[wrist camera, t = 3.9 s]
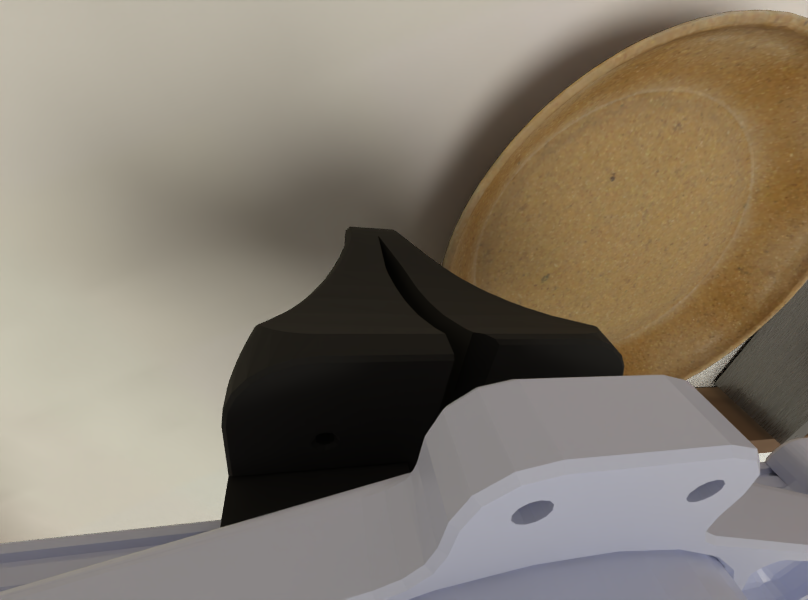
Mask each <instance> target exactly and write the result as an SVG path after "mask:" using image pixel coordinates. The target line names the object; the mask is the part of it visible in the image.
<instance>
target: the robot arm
mask: <svg viewBox="0 0 808 600" xmlns="http://www.w3.org/2000/svg"><path fill="white" fill-rule="evenodd" d="M624 367H625V366H624V362H623V358H622V355H621V354H620V352H619V351H618V350H617V349H616V348H615V347H614V346H613V344H612V343H611V342H610V341H609V340H608V339H607V338H606V336H605V335H604V334H603V333H602V332H601V331H600V330H599V328H598V327H596V326H594V325H589V324H585V323H581V322H577V321H573V320H568V319H564V318H560V317H556V316H552V315H548V314H545V313H542V312H539V311H536V310H533V309H529V308H526V307H524V306H521V305H518V304H515V303H512V302H510V301H507V300H505V299H503V298H500V297H498V296H496V295H493V294H491V293H489V292H487V291H484V290H482V289H480V288H478V287H476V286H474V285H473V284H471V283H469V282H467V281H465V280H463V279H461V278H460V277H458V276H456V275H455V274H453V273H452V272H450V271H449V270H447V269H446V268H444V267H443V266H441V265H440V264H438V263H437V262H435V261H434V260H432V259H431V258H430V257H428V256H427V255H426V254H424V253H423V252H422V251H421V250H419V249H418V248H417V247H415V246H414V245H413V244H412V243H410V242H409V241H408V240H407V239H405V238H404V237H403V236H402V235H400V234H399V233H397V232H396V231H394V230H390V229H375V228H360V227H349V228H348V229H347V230H346V234H345V246H344V248H343V250H342V253H341V255H340V257H339V259H338V261H337V262H336V264H335V266H334V267H333V269H332V270H331V272H330V273H329V275H328V276H327V277H326V279H325V280H324V281H323V282H322V283H321V284H320V286H319V287H318V288H316V289H315V290H314V291H313V292H312V293H311V294H310V295H309V296H308V297H307V298H306V299H305V300H303V301H302V302H301V303H299V304H298V305H296V306H295V307H293V308H292V309H290V310H288V311H287V312H285V313H283V314H281V315H278V316H276V317H274V318H272V319H270V320H268V321H266V322H263V323H261V324H258V325H257V326H256V327H255V328H254V330H253V331H252V333H251V335H250V336H249V338H248V340H247V342H246V344H245V346H244V348H243V350H242V352H241V354H240V356H239V358H238V360H237V362H236V365H235V367H234V370H233V372H232V375H231V378H230V380H229V384H228V387H227V392H226V396H225V401H224V406H223V413H222V433H223V440H224V447H225V454H226V461H227V468H228V475H229V478H228V483H227V489H226V495H225V501H224V507H223V513H222V519H221V520H215V521H206V522H196V523H187V524H178V525H168V526H159V527H150V528H140V529H131V530H121V531H112V532H103V533H93V534H84V535H74V536H65V537H56V538H46V539H37V540H28V541H18V542H9V543H0V600H808V437H807V438H796V439H792V440H789V441H787V442H785V443H783V444H782V445H780V446H779V447H777V448H776V449H775V450H774V451H773V452H772V453H771V454H770V455H769V456H768V457H767V458H766V461H765V462H760V460H759V455H758V450H757V448H756V447H755V446H754V445H753V444H752V443H751V442H750V441H749V440H748V439H747V438H746V437H745V436H744V435H743V434H742V433H740V432H739V431H738V430H737V429H736V428H735V427H734V426H733V425H732V424H731V423H730V422H729V421H728V420H727V419H726V418H725V417H724V416H723V415H722V414H721V413H720V412H719V411H718V410H717V409H716V408H715V407H714V406H713V405H712V404H711V403H710V402H709V401H708V400H707V399H706V398H705V397H704V396H703V395H702V394H700V393H699V392H698V391H697V390H696V389H695V388H694V387H693V386H692V385H691V384H690V383H689V382H688V381H686V380H682V379H678V378H674V377H670V376H666V375H631V376H623V373H624Z"/></svg>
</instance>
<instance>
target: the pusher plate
mask: <svg viewBox="0 0 808 600" xmlns="http://www.w3.org/2000/svg"><path fill="white" fill-rule="evenodd" d="M714 384H715V385H716V386H717V387H719V388H720V389H721V390H722V391H723V392H724V393H725V394H726V395H727V396H728V397H729V398H731V399H732V400H733V401H734V402H735V403H736V404H737V405H738V406H739V407H740V408H741V409H743V410H744V411H745V412H746V413H747V414H748V415H749V416H750V417H751V418H752V419H753V420H754V421H756V422H757V423H758V424H759V425H760V426H761V427H762V428H763V429H764V430H765V431H766V432H768V433H769V434H770V435H771V436H772V437H773V438H774V439H775V440H776V441H777V442H778V443H780V444H781V445H782V444H783V443H785V442H787V441H789V440H792V439H796V438H803V437H804V436H805V435H807V434H808V280H807V281H806V282H805V283H804V285H803V286H802V287H801V288H800V289H799V290H798V291H797V292H796V294H795V295H794V296H793V297H792V298H791V299H790V300H789V301H788V302H787V303H786V304H785V305H784V306H783V307H782V308H781V309H780V310H779V311H778V312H777V313H776V314H775V315H774V316H773V317H772V318H771V319H770V320H769V321H768V322H767V323H765V324H764V325H763V326H762V327H761V328H760V330H759V331H758V332H757V333H756V334H755V335H754V337H753V338H752V339H751V340H750V341H749V343H748V344H747V345H746V346H745V347H744V349H743V350H742V351H741V352H740V353H739V355H738V356H737V357H736V358H735V359H734V361H733V362H732V363H731V364H730V365H729V367H728V368H727V369H726V370H725V371H724V373H723V374H722V375H721V376H720V377H719V379H718V380H717V381H716V382H715V383H714Z"/></svg>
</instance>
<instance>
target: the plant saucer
mask: <svg viewBox="0 0 808 600" xmlns="http://www.w3.org/2000/svg"><path fill="white" fill-rule="evenodd" d="M442 266H443V267H444V268H446V269H447V270H449V271H450V272H452V273H453V274H455V275H456V276H458V277H460V278H461V279H463V280H465V281H467V282H469V283H471V284H473V285H474V286H476V287H478V288H480V289H482V290H484V291H487V292H489V293H491V294H493V295H496V296H498V297H500V298H503V299H505V300H507V301H510V302H512V303H515V304H518V305H521V306H524V307H526V308H529V309H533V310H536V311H539V312H542V313H545V314H548V315H552V316H556V317H560V318H564V319H568V320H573V321H577V322H581V323H585V324H589V325H594V326H596V327H598V328H599V330H600V331H601V332H602V333H603V334H604V335H605V336H606V338H607V339H608V340H609V341H610V342H611V343H612V344H613V346H614V347H615V348H616V349H617V350H618V351H619V352H620V354H621V355H622V358H623V362H624V366H625V367H624V373H623V376H631V375H666V376H670V377H674V378H678V379H682V380H687V379H689V378H690V377H692V376H694V375H696V374H698V373H700V372H702V371H703V370H705V369H707V368H708V367H710V366H711V365H713V364H714V363H716V362H717V361H719V360H720V359H722V358H723V357H724V356H726V355H727V354H729V353H730V352H732V351H733V350H734V349H735V348H737V347H738V346H739V345H741V344H742V343H743V342H745V341H746V340H747V339H748V338H749V337H751V336H752V335H753V334H754V333H755V332H756V331H758V330H759V329H760V328H761V327H762V326H763V325H764V324H765V323H767V322H768V321H769V320H770V319H771V318H772V317H773V316H774V315H775V314H776V313H777V312H778V311H779V310H780V309H781V308H782V307H783V306H784V305H785V304H786V303H787V302H788V301H789V300H790V299H791V298H792V297H793V296H794V295H795V294H796V292H797V291H798V290H799V289H800V288H801V287H802V286H803V285H804V283H805V282H806V281H807V280H808V18H806V17H803V16H799V15H796V14H793V13H790V12H781V11H771V10H747V11H730V12H724V13H719V14H715V15H711V16H707V17H702V18H698V19H695V20H691V21H688V22H685V23H681V24H679V25H676V26H674V27H671V28H668V29H666V30H663V31H661V32H658V33H656V34H654V35H651V36H649V37H647V38H645V39H643V40H641V41H639V42H637V43H635V44H633V45H631V46H629V47H627V48H625V49H623V50H622V51H620V52H619V53H617V54H615V55H614V56H612V57H610V58H609V59H607V60H606V61H604V62H602V63H601V64H599V65H598V66H596V67H595V68H593V69H592V70H590V71H589V72H588V73H586V74H585V75H583V76H582V77H581V78H579V79H578V80H577V81H575V82H574V83H573V84H571V85H570V86H569V87H567V88H566V89H565V90H564V91H562V92H561V93H560V94H559V95H558V96H557V97H555V98H554V99H553V100H552V101H551V102H549V103H548V104H547V105H546V106H545V107H544V108H543V109H542V110H541V111H540V112H539V113H538V114H536V115H535V116H534V117H533V118H532V120H531V121H530V122H529V123H528V124H527V125H526V126H525V127H524V128H523V129H522V130H521V131H520V132H519V133H518V134H517V135H516V136H515V138H514V139H513V140H512V141H511V142H510V143H509V145H508V146H507V147H506V148H505V150H504V151H503V152H502V153H501V155H500V156H499V157H498V159H497V160H496V161H495V162H494V164H493V165H492V166H491V168H490V169H489V171H488V172H487V173H486V175H485V176H484V178H483V179H482V181H481V182H480V184H479V185H478V187H477V188H476V190H475V191H474V193H473V195H472V196H471V198H470V200H469V202H468V203H467V205H466V207H465V209H464V211H463V212H462V214H461V216H460V219H459V221H458V223H457V225H456V227H455V229H454V232H453V234H452V237H451V239H450V242H449V244H448V247H447V251H446V254H445V257H444V260H443V263H442Z"/></svg>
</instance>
